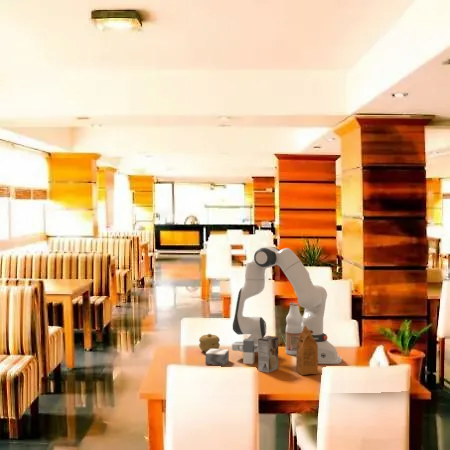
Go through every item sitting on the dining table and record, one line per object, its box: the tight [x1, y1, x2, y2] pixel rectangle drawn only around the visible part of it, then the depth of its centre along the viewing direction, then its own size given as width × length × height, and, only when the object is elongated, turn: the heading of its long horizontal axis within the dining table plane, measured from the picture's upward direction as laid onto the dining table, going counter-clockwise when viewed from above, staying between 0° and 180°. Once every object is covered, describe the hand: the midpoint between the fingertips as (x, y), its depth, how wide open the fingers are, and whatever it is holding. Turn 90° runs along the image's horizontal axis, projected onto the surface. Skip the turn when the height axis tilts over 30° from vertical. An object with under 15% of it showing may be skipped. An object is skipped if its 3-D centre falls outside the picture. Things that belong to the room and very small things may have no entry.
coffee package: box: [295, 326, 319, 376], centre depth 275 cm, size 10×12×22 cm
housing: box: [242, 338, 255, 365], centre depth 293 cm, size 5×5×12 cm
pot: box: [198, 333, 221, 353], centre depth 316 cm, size 12×12×10 cm
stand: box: [205, 348, 230, 367], centre depth 293 cm, size 10×10×6 cm
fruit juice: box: [285, 302, 303, 356], centre depth 312 cm, size 9×9×28 cm
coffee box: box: [257, 335, 279, 374], centre depth 279 cm, size 9×6×16 cm
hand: (248, 350), depth 292 cm, fingers open, 6 cm apart
